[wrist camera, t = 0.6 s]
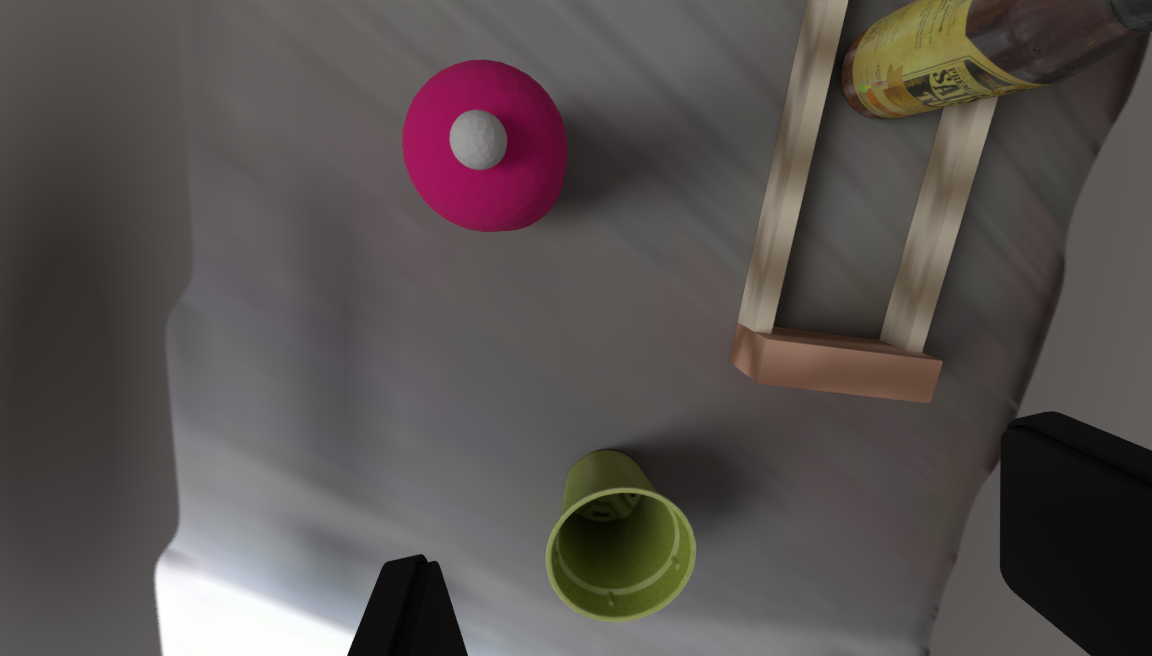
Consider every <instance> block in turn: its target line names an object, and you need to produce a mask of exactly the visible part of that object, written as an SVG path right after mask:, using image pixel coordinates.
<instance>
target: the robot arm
mask: <svg viewBox="0 0 1152 656" xmlns="http://www.w3.org/2000/svg"><path fill="white" fill-rule="evenodd" d="M1000 472H1001V474H1000V476H1001V477H1000V479H1001V480H1000V482H1001V483H1000V570H1001V573H1002V576H1003V578H1004V580H1005V582H1006V583H1007V585H1008V586H1009V587H1010V589H1011V590H1012V591H1013V592H1014V593H1015V594H1017V595H1018V596H1019V597H1020V598H1021V599H1023V600H1024V601H1025V602H1026V603H1028V604H1029V605H1030V606H1031V607H1032V608H1034V609H1035V610H1036V611H1037V612H1039V613H1040V614H1041V615H1042V616H1043V617H1045V618H1046V619H1047V620H1048V621H1049V622H1051V623H1052V624H1053V625H1054V626H1055V627H1057V628H1058V629H1059V630H1060V631H1062V632H1063V633H1064V634H1065V635H1066V636H1068V637H1069V638H1070V639H1071V640H1073V641H1074V642H1075V643H1076V644H1077V645H1079V646H1080V647H1081V648H1082V649H1083V650H1085V651H1086V652H1087V653H1088V654H1090V655H1091V656H1152V451H1151V450H1149V449H1146V448H1143V447H1142V446H1139V445H1137V444H1134V443H1132V442H1129V441H1127V440H1124V439H1122V438H1120V437H1117V436H1115V435H1112V434H1110V433H1108V432H1105V431H1102V430H1100V429H1097V428H1095V427H1093V426H1091V425H1088V424H1085V423H1083V422H1081V421H1078V420H1076V419H1073V418H1071V417H1069V416H1066V415H1064V414H1061V413H1058V412H1054V411H1052V412H1051V411H1050V412H1043V413H1039V414H1035V415H1030V416H1026V417H1021V418H1017V419H1014V420H1012V421H1011V422H1010V423H1009V424H1008V426H1007V430H1006V431H1005V432H1004V433H1003V434H1002V436H1001V471H1000ZM347 656H468V654H467V651H466V648H465V645H464V641H463V638H462V635H461V632H460V629H459V625H458V622H457V619H456V616H455V613H454V610H453V606H452V603H451V600H450V597H449V594H448V590H447V587H446V584H445V581H444V578H443V574H442V571H441V568H440V566H439V564H438V562H437V561H432V562H427V559H426V558H425V556H424V555H422V554H419V555H415V556H410V557H406V558H402V559H397V560H393V561H388V562H386V563H385V564H384V565H383V567H382V569H381V572H380V574H379V577H378V579H377V582H376V584H375V587H374V589H373V592H372V594H371V597H370V599H369V602H368V604H367V607H366V609H365V612H364V615H363V617H362V620H361V622H360V625H359V627H358V630H357V632H356V635H355V637H354V640H353V642H352V645H351V647H350V650H349V652H348V655H347Z"/></svg>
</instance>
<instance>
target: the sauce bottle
mask: <svg viewBox="0 0 1152 656" xmlns="http://www.w3.org/2000/svg"><path fill="white" fill-rule="evenodd" d="M1148 31H1152V0H917V1H915V2H913V3H911V4H909V5H907V6H905V7H903V8H901V9H899V10H897V11H895V12H893V13H891V14H889V15H887V16H885V17H883V18H881V19H880V20H878V21H877V22H876V23H874V24H873V25H872V26H871V27H869V28H867V29H866V30H865V31H863V32H862V33H861V34H860V35H859V36H857V37H856V38H855V39H854V40H853V41H852V43H851V44H850V46H849V48H848V50H847V51H846V53H845V55H844V60H843V62H842V65H841V74H840V78H841V88H842V92H843V94H844V96H845V99H846V100H847V102H848V103H849V105H850V106H852V107H853V108H854V109H855V110H856V111H858V112H860V113H861V114H863V115H866V116H868V117H870V118H879V119H884V118H900V117H905V116H910V115H914V114H919V113H924V112H928V111H933V110H937V109H942V108H946V107H951V106H956V105H961V104H965V103H969V102H975V101H980V100H984V99H988V98H993V97H997V96H1001V95H1006V94H1010V93H1015V92H1020V91H1024V90H1029V89H1034V88H1038V87H1043V86H1047V85H1051V84H1056V83H1059V82H1062V81H1064V80H1066V79H1068V78H1070V77H1072V76H1073V75H1075V74H1077V73H1078V72H1080V71H1082V70H1084V69H1085V68H1087V67H1089V66H1090V65H1092V64H1094V63H1096V62H1097V61H1099V60H1101V59H1102V58H1104V57H1106V56H1108V55H1109V54H1111V53H1113V52H1114V51H1116V50H1118V49H1120V48H1121V47H1123V46H1125V45H1126V44H1128V43H1130V42H1131V41H1133V40H1135V39H1136V38H1138V37H1140V36H1141V35H1143V34H1145V33H1146V32H1148Z"/></svg>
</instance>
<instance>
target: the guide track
mask: <svg viewBox="0 0 1152 656" xmlns="http://www.w3.org/2000/svg"><path fill="white" fill-rule="evenodd" d="M847 4H848V0H807V3H806V8H805V12H804V17H803V22H802V26H801V31H800V36H799V40H798V45H797V49H796V54H795V59H794V63H793V68H792V73H791V77H790V82H789V86H788V91H787V96H786V100H785V105H784V110H783V114H782V119H781V123H780V128H779V133H778V137H777V142H776V147H775V151H774V156H773V160H772V165H771V170H770V174H769V179H768V184H767V188H766V193H765V197H764V202H763V207H762V211H761V216H760V221H759V225H758V230H757V234H756V239H755V244H754V248H753V253H752V258H751V262H750V267H749V271H748V276H747V281H746V285H745V290H744V295H743V299H742V304H741V308H740V313H739V318H738V322H737V327H736V332H735V336H734V341H733V345H732V350H731V355H730V359H729V361H730V362H731V363H732V364H733V365H735V366H736V367H737V368H738V369H740V370H741V371H742V372H743V373H745V374H746V375H747V376H748V377H750V378H751V379H752V380H753V381H754V382H756V383H757V384H766V385H775V386H783V387H792V388H801V389H810V390H818V391H827V392H836V393H845V394H854V395H862V396H871V397H880V398H889V399H897V400H906V401H915V402H924V403H930V402H931V399H932V396H933V393H934V389H935V386H936V383H937V380H938V376H939V373H940V370H941V367H942V364H943V361H942V360H939V359H936V358H934V357H931V356H929V355H926V354H924V353H922V351H923V347H924V344H925V341H926V337H927V334H928V330H929V327H930V324H931V320H932V317H933V314H934V310H935V307H936V304H937V300H938V297H939V294H940V290H941V287H942V284H943V280H944V277H945V274H946V270H947V267H948V263H949V260H950V257H951V253H952V250H953V247H954V243H955V240H956V237H957V233H958V230H959V227H960V223H961V220H962V217H963V213H964V210H965V207H966V203H967V200H968V197H969V193H970V190H971V186H972V183H973V180H974V176H975V173H976V170H977V166H978V163H979V160H980V156H981V153H982V150H983V146H984V143H985V140H986V136H987V133H988V130H989V126H990V123H991V120H992V116H993V113H994V109H995V106H996V103H997V99H998V96H997V97H993V98H988V99H984V100H980V101H975V102H969V103H965V104H961V105H956V106H951V107H946V108H943V112H942V115H941V119H940V123H939V126H938V130H937V133H936V137H935V141H934V144H933V148H932V151H931V155H930V159H929V162H928V166H927V169H926V173H925V177H924V180H923V184H922V187H921V191H920V194H919V198H918V202H917V205H916V209H915V212H914V216H913V220H912V223H911V227H910V230H909V234H908V238H907V241H906V245H905V248H904V252H903V255H902V259H901V263H900V266H899V270H898V273H897V277H896V281H895V284H894V288H893V291H892V295H891V299H890V302H889V306H888V309H887V313H886V316H885V320H884V324H883V327H882V331H881V334H880V338H879V340H876V339H868V338H860V337H852V336H844V335H836V334H828V333H821V332H813V331H805V330H797V329H789V328H781V327H774V326H773V323H774V319H775V315H776V311H777V306H778V302H779V298H780V293H781V289H782V285H783V280H784V276H785V272H786V267H787V263H788V259H789V254H790V250H791V246H792V241H793V237H794V233H795V229H796V224H797V220H798V216H799V211H800V207H801V203H802V198H803V194H804V190H805V185H806V181H807V177H808V172H809V168H810V164H811V159H812V155H813V151H814V147H815V142H816V138H817V134H818V129H819V125H820V121H821V116H822V112H823V108H824V103H825V99H826V95H827V90H828V86H829V82H830V77H831V73H832V69H833V65H834V60H835V56H836V52H837V47H838V43H839V39H840V34H841V30H842V26H843V21H844V17H845V13H846V8H847Z"/></svg>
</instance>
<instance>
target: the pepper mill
mask: <svg viewBox="0 0 1152 656" xmlns="http://www.w3.org/2000/svg"><path fill="white" fill-rule="evenodd" d="M402 147H403V154H404V161H405V164H406V167H407V170H408V173H409V176H410V179H411V180H412V182H413V184H414V186H415V188H416V190H417V191H418V193H419V194H420V195H421V197H422V198H423V200H424V201H425V202H426V203H427V204H428V205H429V206H430V207H431V208H432V209H433V210H434V211H435V212H436V213H438V214H439V215H441V216H442V217H443V218H445V219H446V220H448V221H450V222H452V223H454V224H456V225H458V226H461V227H464V228H467V229H470V230H476V231H482V232H497V231H512V230H517V229H521V228H524V227H527V226H529V225H531V224H533V223H535V222H536V221H538V220H539V219H541V218H542V217H543V216H544V215H546V213H547V212H548V211H549V210H550V209H551V208H552V206H553V205H554V203H555V202H556V200H557V198H558V196H559V194H560V191H561V189H562V185H563V181H564V173H565V169H566V163H567V139H566V133H565V128H564V124H563V121H562V118H561V115H560V113H559V111H558V110H557V108H556V106H555V104H554V102H553V101H552V99H551V98H550V96H549V95H548V93H547V92H546V91H545V90H544V89H543V88H542V87H541V85H540V84H538V83H537V82H536V81H535V80H534V79H532V78H531V77H530V76H529V75H527V74H525V73H524V72H522V71H520V70H518V69H517V68H515V67H512V66H509V65H507V64H504V63H501V62H496V61H490V60H469V61H466V62H462V63H458V64H455V65H452V66H450V67H448V68H446V69H444V70H442V71H440V72H439V73H437V74H436V75H435V76H433V77H432V78H431V79H429V81H428V82H427V83H426V84H425V85H424V86H423V87H422V88H421V89H420V90H419V92H418V93H417V94H416V96H415V97H414V99H413V101H412V103H411V105H410V107H409V110H408V113H407V116H406V120H405V123H404V127H403V139H402Z"/></svg>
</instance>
